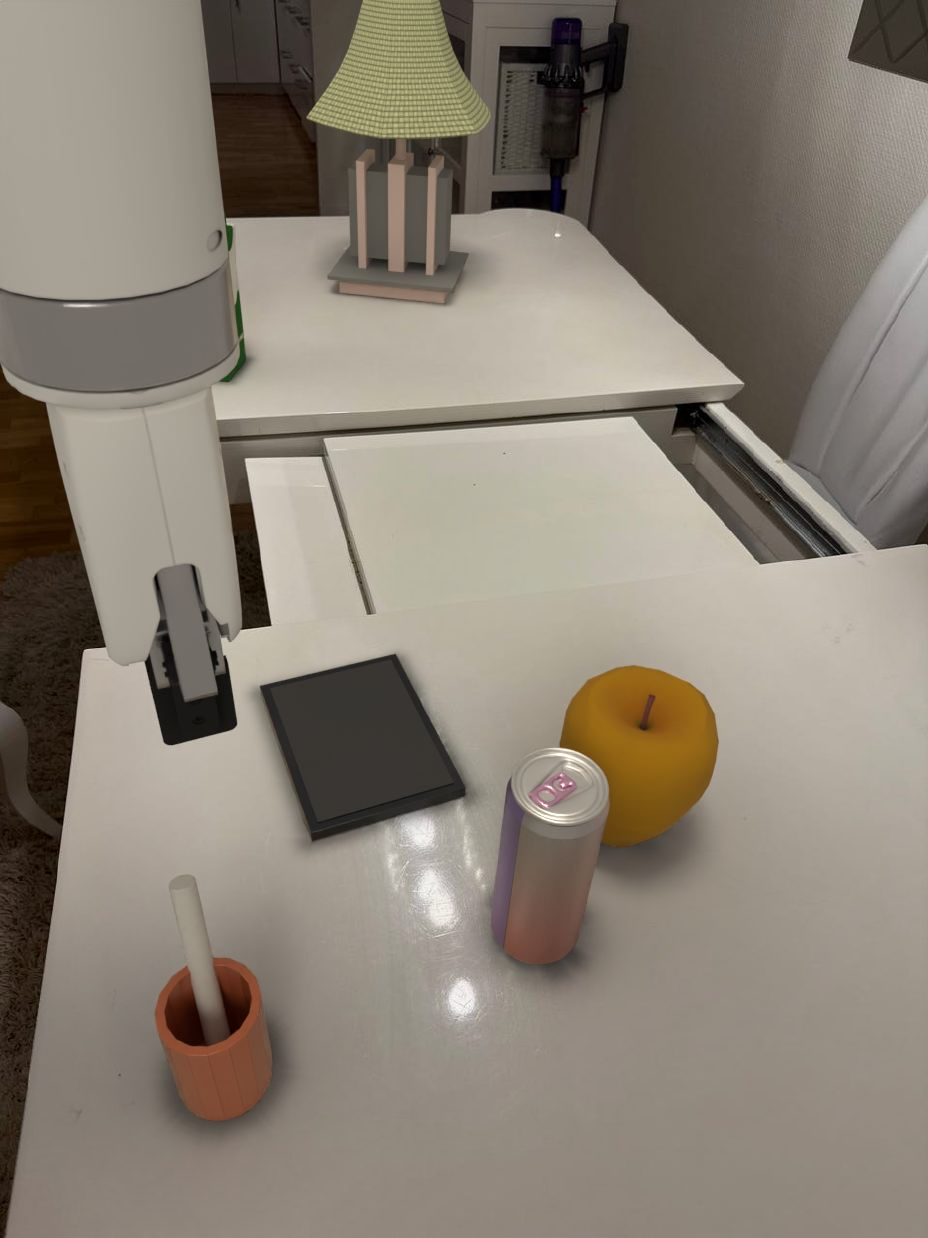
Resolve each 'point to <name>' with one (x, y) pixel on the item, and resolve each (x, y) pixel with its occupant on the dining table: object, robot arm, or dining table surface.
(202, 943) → the stylus
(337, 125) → the desk lamp
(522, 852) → the beverage can
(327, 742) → the tablet
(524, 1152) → the dining table surface
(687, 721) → the apple
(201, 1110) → the pen cup
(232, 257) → the milk carton
